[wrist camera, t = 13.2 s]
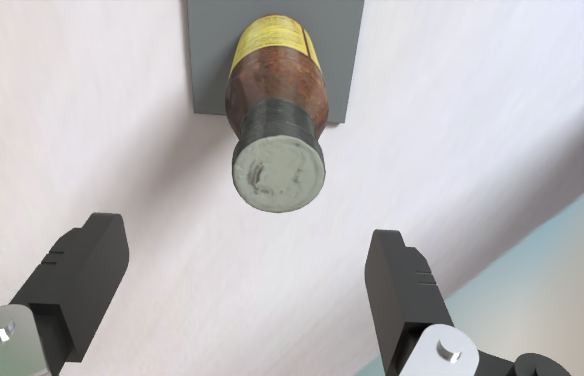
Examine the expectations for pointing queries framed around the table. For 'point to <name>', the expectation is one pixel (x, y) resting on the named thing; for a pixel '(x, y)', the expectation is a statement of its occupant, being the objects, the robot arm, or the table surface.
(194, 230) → the table surface
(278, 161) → the sauce bottle
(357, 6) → the placemat
